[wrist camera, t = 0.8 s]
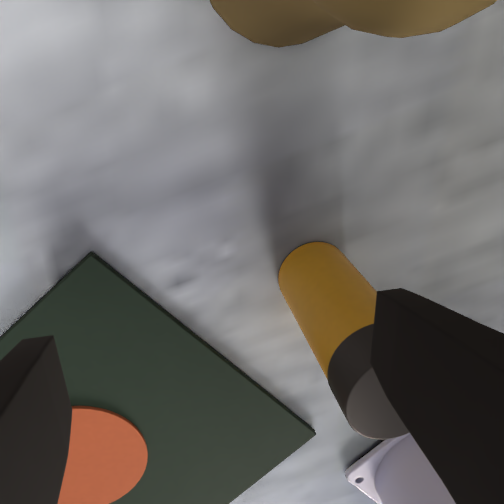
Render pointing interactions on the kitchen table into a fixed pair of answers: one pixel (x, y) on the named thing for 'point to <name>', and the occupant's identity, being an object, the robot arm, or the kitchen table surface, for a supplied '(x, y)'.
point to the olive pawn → (341, 17)
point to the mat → (152, 399)
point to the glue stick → (340, 333)
